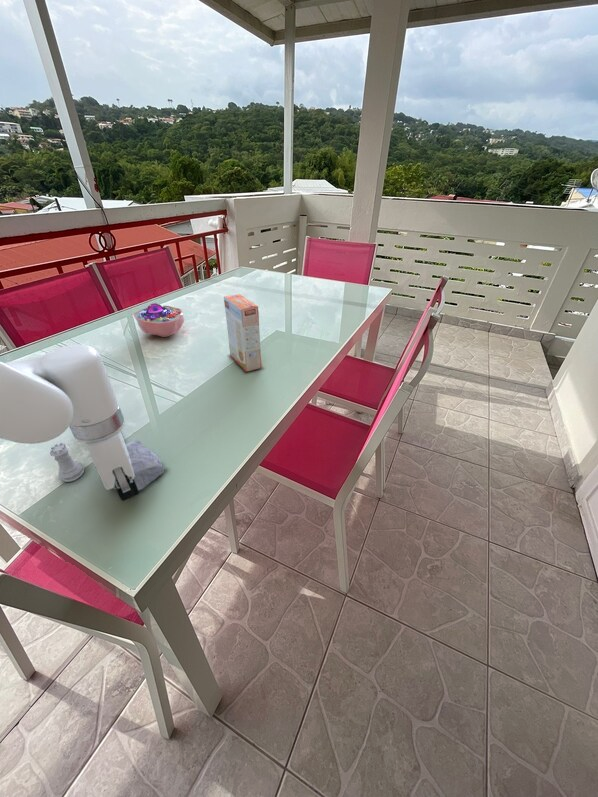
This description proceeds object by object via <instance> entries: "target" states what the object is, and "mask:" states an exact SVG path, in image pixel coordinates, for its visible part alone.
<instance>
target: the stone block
mask: <svg viewBox="0 0 598 797" xmlns="http://www.w3.org/2000/svg"><path fill="white" fill-rule="evenodd" d="M125 445H126V447H127V450H128V453H129V457H130V460H131V463H132V467H133V471H134V475H135V477H134V481H135V483H136V486H137V488H138V491H139V492H140V491H142V490H143V489H145V488H146V487H147V486H148V485H149V484H151V483H152V482H153V481H155V480H156V479H157V478H159V477H160V476H162V475H163V474H164V473H165V469H164V465H163V462H162V461H161V459H160V458H159V457H158V455H157V454H156V453H154V452H153V451H152V450H151V449H149V448H147V447H146V446H145V445H143V443H142V441H141V440H139V439H136V440H134V441H131V442H128V443H125ZM112 489H113V490H114V491H116V492H117V490H116V488H115V485H114V488H112Z"/></svg>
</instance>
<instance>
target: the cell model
mask: <svg viewBox="0 0 598 797" xmlns="http://www.w3.org/2000/svg"><path fill="white" fill-rule="evenodd" d="M182 310H183V309H181V308H179V307H175V306H170V305H161V304H159V303H156V302H153V303H151V304H149V305H148V306H147V307H145V308H143V309H140V310H138V311H137V312H135V313H133V317H134V319H135V320H136V322H137V325H138V328H139V329H140V331H142V332H143V333H145V334H147V335H153V336H159V337H162V338H167V337H170V336H173V335H176V334H178V333H179V332H180V330H181V328H182V326H183V324H184V323H185V317H184V313H183V311H182Z"/></svg>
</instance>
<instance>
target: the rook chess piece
mask: <svg viewBox="0 0 598 797" xmlns="http://www.w3.org/2000/svg"><path fill="white" fill-rule="evenodd" d="M69 450H70V447H69V445H68V444H65V443H63V442H59V444H58V443H55V444H54V445H53V446H50V452H49V455H50V456H51V457H54V461H56V462H57V464H58V467H59V468H58V477H59V479H60V481H62V482H65V483H71V482H75V481H77V480H79V479H80V478H81V477H82V476H83V474H84V472H85V467H84V466H83V465H82V464H81V463H80V462H78V461H77V460H75V459H74V458H73V456H72V455H71V454H72V453H71V452H70V451H69Z"/></svg>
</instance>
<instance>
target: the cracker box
mask: <svg viewBox="0 0 598 797" xmlns="http://www.w3.org/2000/svg"><path fill="white" fill-rule="evenodd" d="M223 303H224V310H225V320H226V329H227V330H226V331H227V337H228V338H227V339H228V346H229V354H230V357H231V358H232V359H233V360H234V361H235V362H236V363H237V364H238V365H239V367H241V368H242V369H243V370H244V372H245V373H247V372H252V371H255V370H259V369H262V353H261V350H262V349H261V335H260V334H261V332H260V313H259V306H258V305H257V304H256V303H253V302H252V301H251V300H249V299H248V298H246V297H244V296H243V295H242V294H240V293H239V294H238V293H237V294H232V295H225V296H223Z"/></svg>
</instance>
